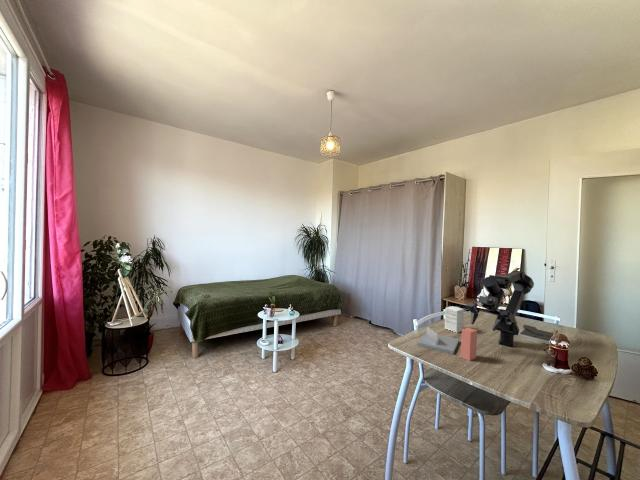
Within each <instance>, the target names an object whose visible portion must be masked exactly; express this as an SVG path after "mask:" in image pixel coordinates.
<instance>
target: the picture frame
mask: <svg viewBox="0 0 640 480" xmlns="http://www.w3.org/2000/svg"><path fill="white" fill-rule="evenodd" d="M554 333H555V332H553V331H548V330H546V329H545V330H544V329H541V328H537V327H535V326H531V325H529V324H528V325H527V324H524V325H523V326H522V327H521V328H520V329H519V334H518V335H514V338H515V337H516V338H519V339H524V340H527V341H532V342H534V343H539V344H542V343H545V344H544V345H546V344H549V341H550V339H551V337H552V336H553V334H554Z"/></svg>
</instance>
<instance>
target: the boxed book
mask: <svg viewBox="0 0 640 480" xmlns="http://www.w3.org/2000/svg"><path fill="white" fill-rule="evenodd" d="M460 340H461V341H460V342H461V343H460V358H461V359H465V360H467V361H470V362H471V361H473V360H475V359H477V348H478V347H477V343H478V330H477V329H474V328H471V327H467V328H466V327H465V328H463V329H462V331H461V339H460Z"/></svg>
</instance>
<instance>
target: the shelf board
mask: <svg viewBox="0 0 640 480" xmlns="http://www.w3.org/2000/svg"><path fill="white" fill-rule="evenodd" d="M459 343H460V339H459V338H456V337H451V336H447V335H442V334H439V341H438V345H436V344H435V343H433V342H432V341H431V340H430V339H429V338H428V337H427V331H425V333H424V334H423V335H422V336H421V337H420V339H419V340H417V342H416V346H418V345H420V346H419V347H422V346H424V347H423V348H426V347H427V348H426V349H430V348H431V350H433V349H434V350H433V351H438V352H440V353H441V352H442V353H445V354H449V355H454V353H455V351H456V349H457V347H458V345H459Z"/></svg>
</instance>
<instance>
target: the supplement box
mask: <svg viewBox="0 0 640 480" xmlns="http://www.w3.org/2000/svg"><path fill="white" fill-rule="evenodd" d="M464 315H465V309H464V308H461V307H457V306H453V305H452V306H451V305H450V306H447V307H445V311H444V330H446V329H448V330H447V331H449V330H451V331H450V332H452V331H453V333H455V332H456V333H455V334H457V333H459V332H462V329H464V321H465V320H464V319H465V316H464Z"/></svg>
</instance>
